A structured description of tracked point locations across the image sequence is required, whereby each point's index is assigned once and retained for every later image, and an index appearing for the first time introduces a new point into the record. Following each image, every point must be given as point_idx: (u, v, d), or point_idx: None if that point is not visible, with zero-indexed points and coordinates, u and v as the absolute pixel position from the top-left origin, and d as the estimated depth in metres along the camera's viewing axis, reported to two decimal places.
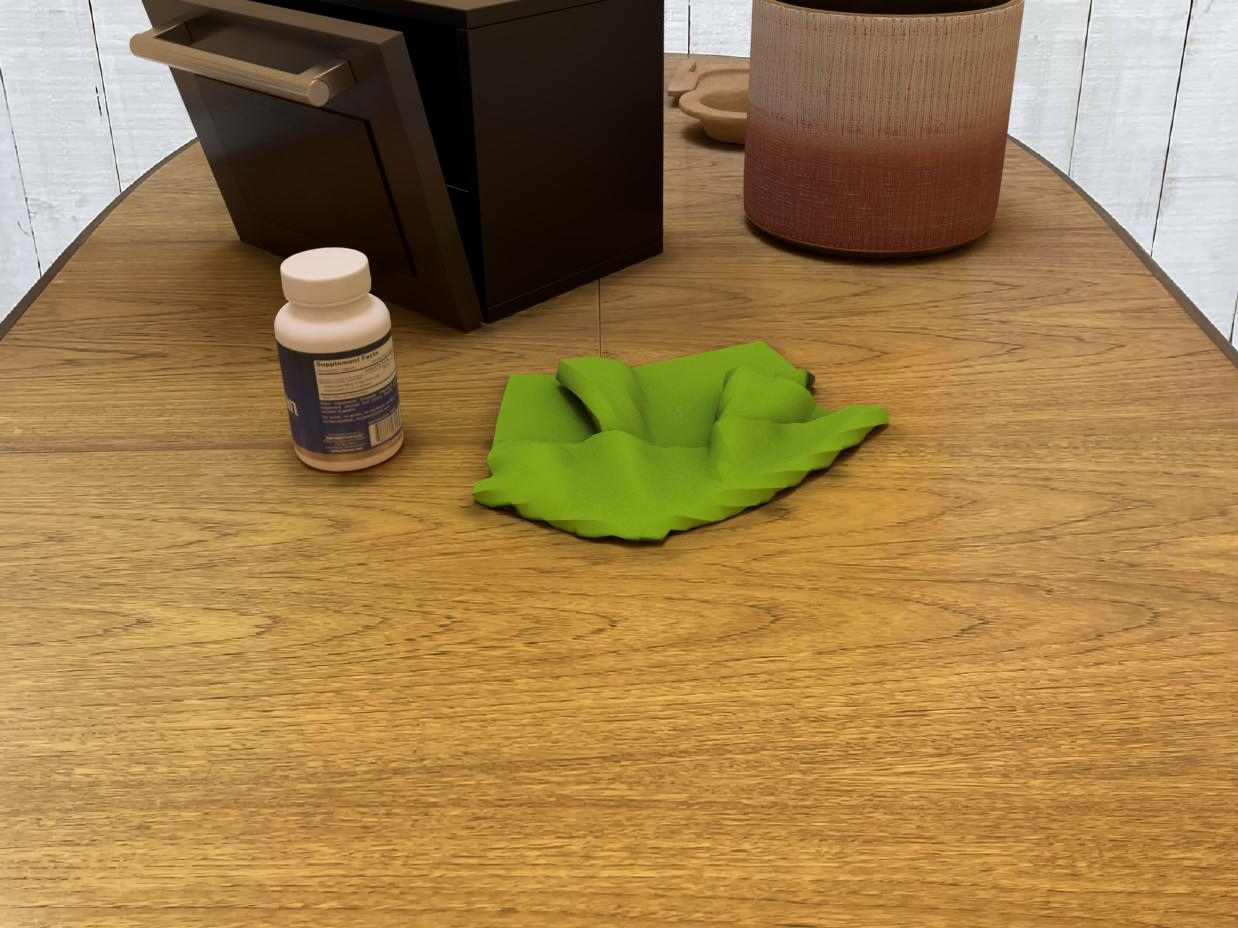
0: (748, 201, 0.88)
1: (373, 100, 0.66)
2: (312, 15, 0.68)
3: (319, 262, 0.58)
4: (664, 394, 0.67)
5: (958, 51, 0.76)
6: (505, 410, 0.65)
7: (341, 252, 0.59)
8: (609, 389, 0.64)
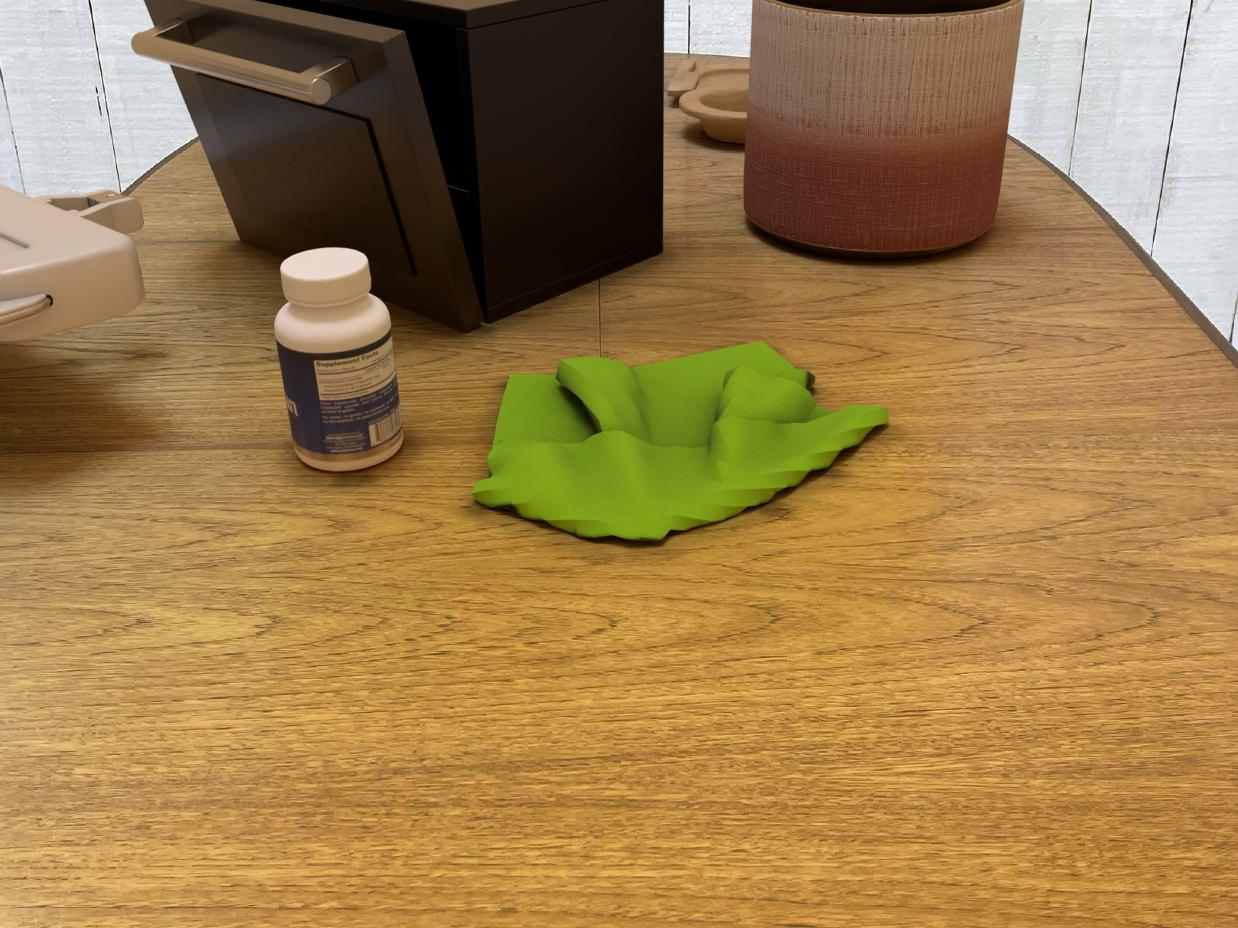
0: (748, 201, 0.88)
1: (375, 99, 0.66)
2: (314, 14, 0.68)
3: (319, 262, 0.58)
4: (664, 394, 0.67)
5: (958, 51, 0.76)
6: (505, 410, 0.65)
7: (341, 252, 0.59)
8: (609, 389, 0.64)
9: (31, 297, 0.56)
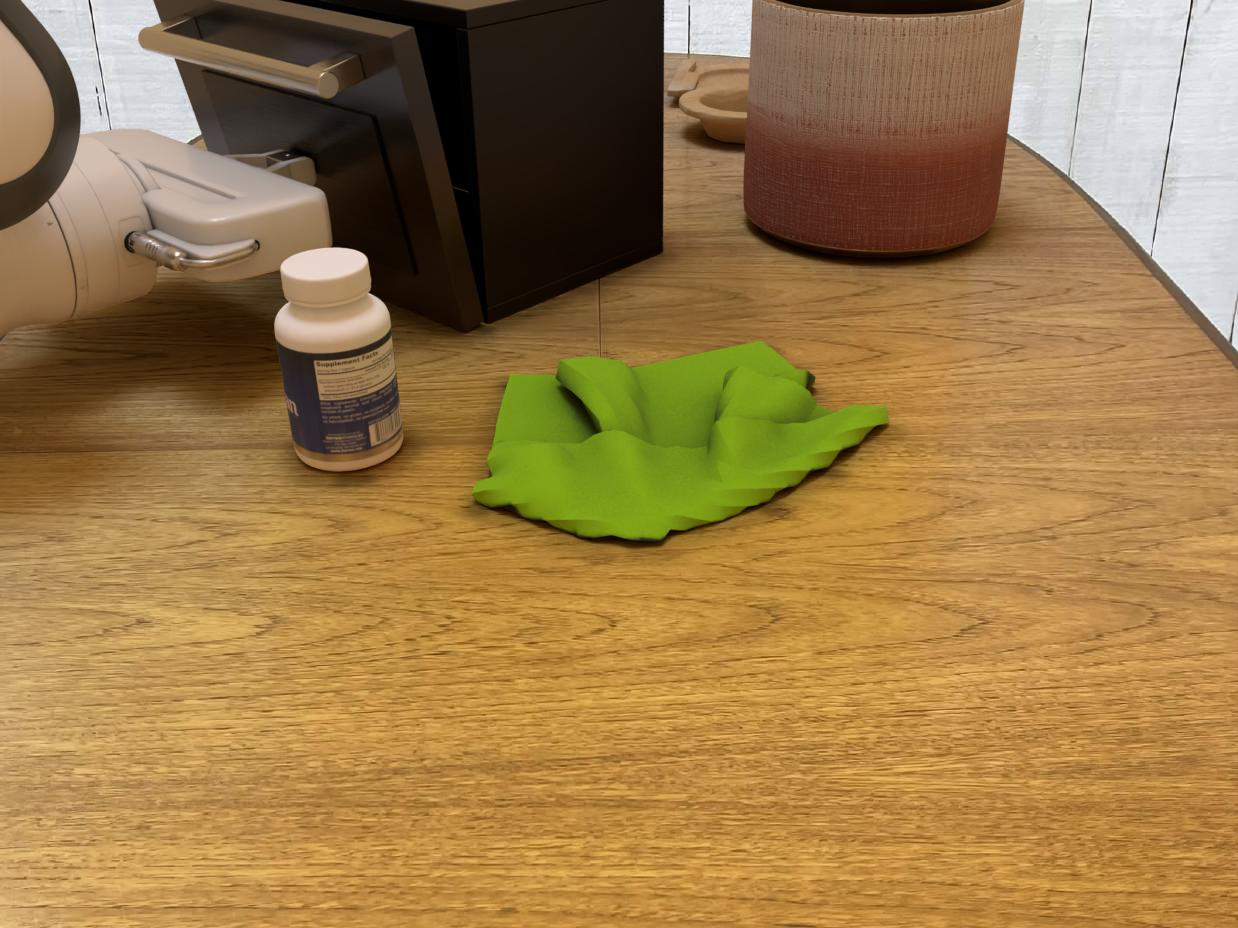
0: (748, 201, 0.88)
1: (382, 95, 0.67)
2: (323, 10, 0.69)
3: (319, 262, 0.58)
4: (664, 394, 0.67)
5: (958, 51, 0.76)
6: (505, 410, 0.65)
7: (341, 252, 0.59)
8: (609, 389, 0.64)
9: (242, 241, 0.64)
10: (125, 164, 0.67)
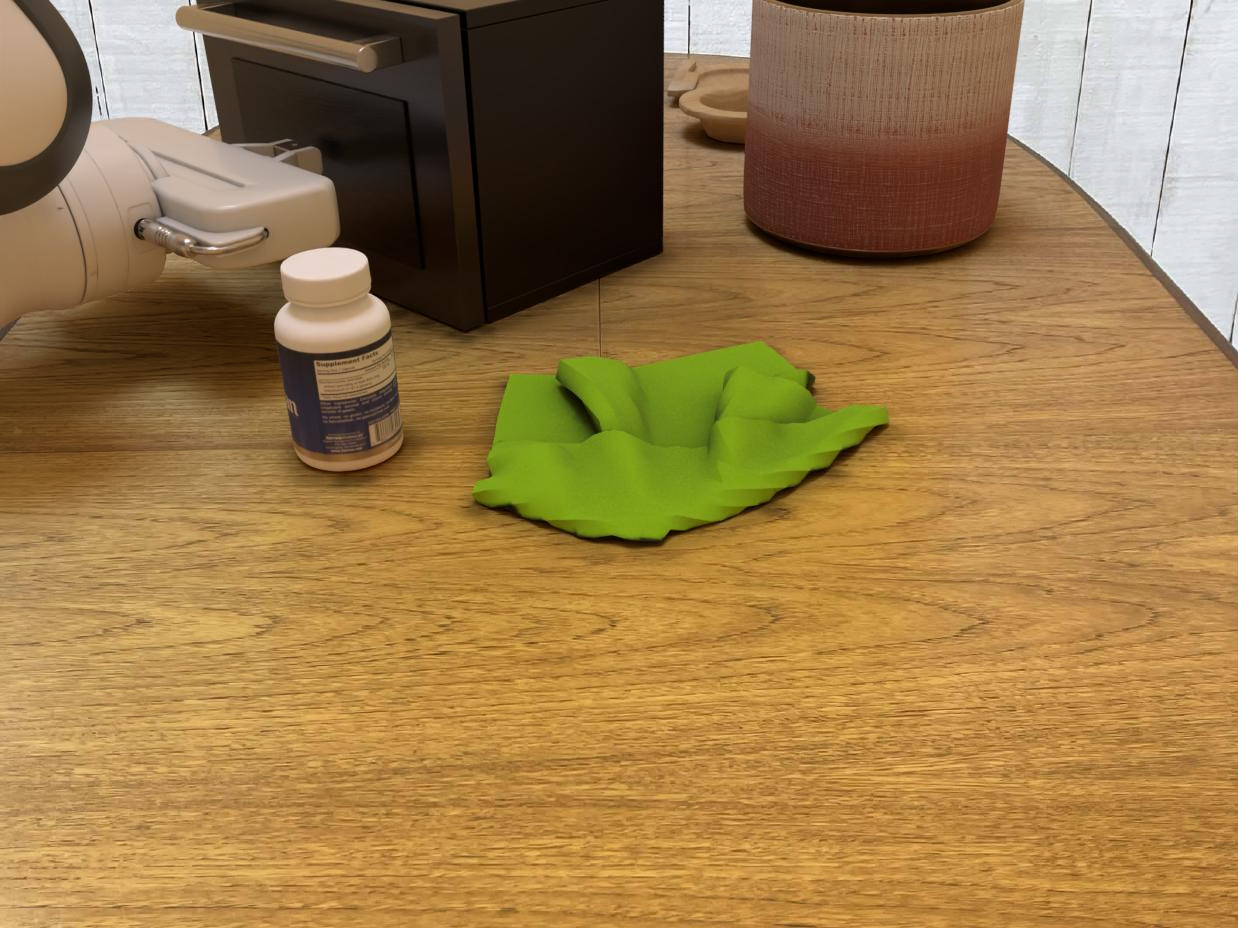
0: (748, 201, 0.88)
1: (418, 79, 0.68)
2: None
3: (319, 262, 0.58)
4: (664, 394, 0.67)
5: (958, 51, 0.76)
6: (505, 410, 0.65)
7: (341, 252, 0.59)
8: (609, 389, 0.64)
9: (252, 229, 0.64)
10: (134, 152, 0.67)
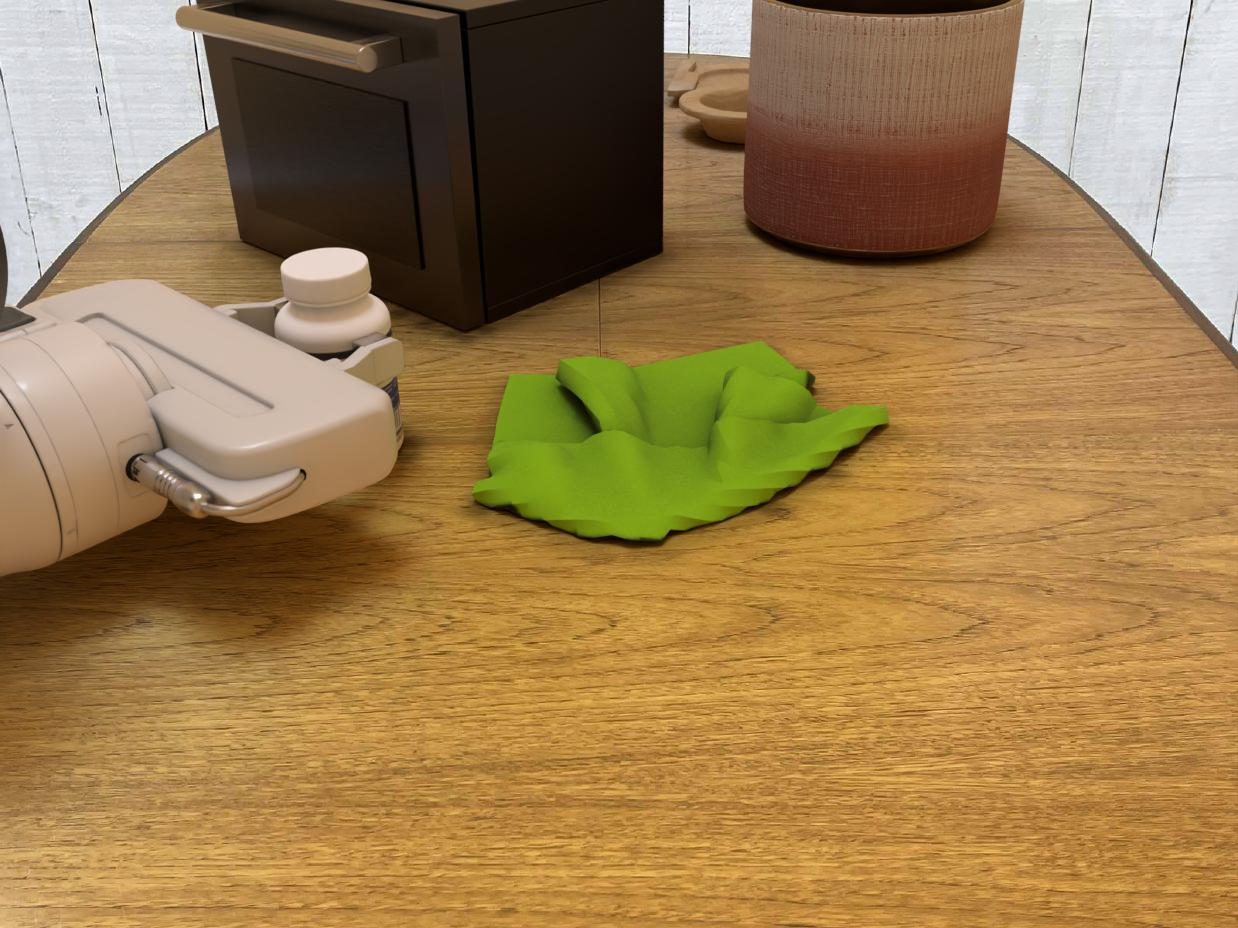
0: (748, 201, 0.88)
1: (418, 79, 0.68)
2: None
3: (319, 262, 0.58)
4: (664, 394, 0.67)
5: (958, 51, 0.76)
6: (505, 410, 0.65)
7: (341, 252, 0.59)
8: (609, 389, 0.64)
9: (284, 474, 0.48)
10: (127, 357, 0.51)
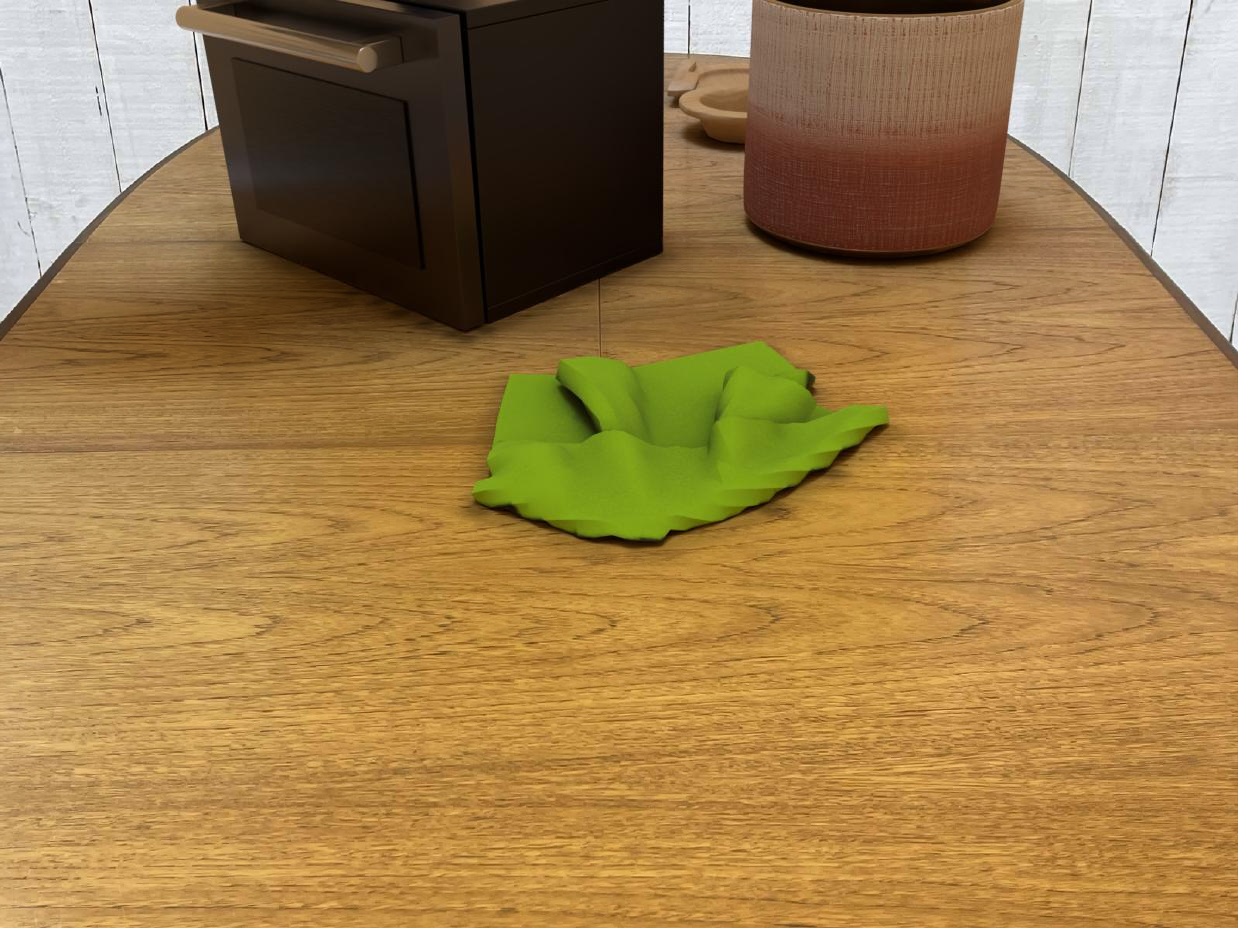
0: (748, 201, 0.88)
1: (418, 79, 0.68)
2: None
3: None
4: (664, 394, 0.67)
5: (958, 51, 0.76)
6: (505, 410, 0.65)
7: None
8: (609, 389, 0.64)
9: None
10: None
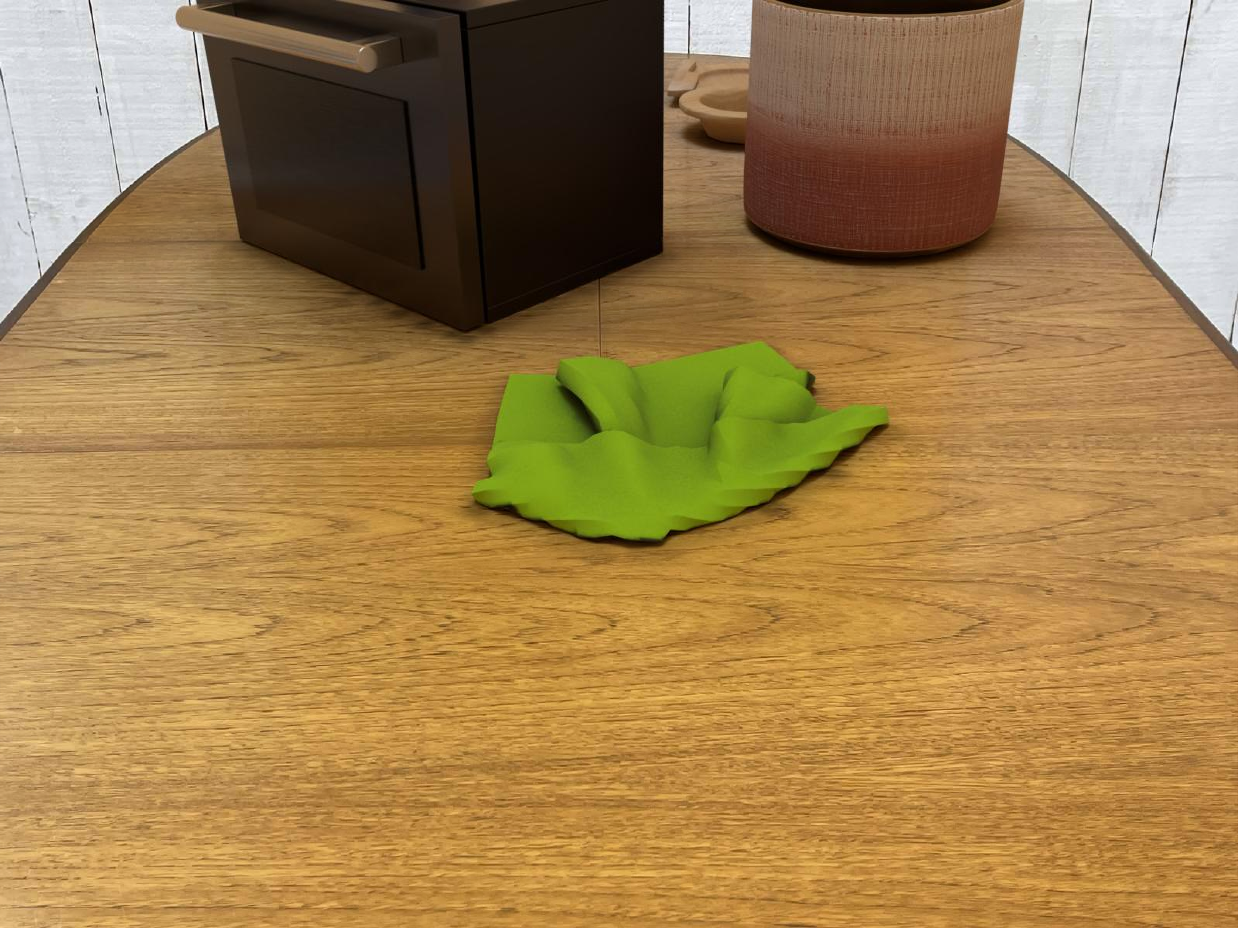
0: (748, 201, 0.88)
1: (418, 79, 0.68)
2: None
3: None
4: (664, 394, 0.67)
5: (958, 51, 0.76)
6: (505, 410, 0.65)
7: None
8: (609, 389, 0.64)
9: None
10: None
